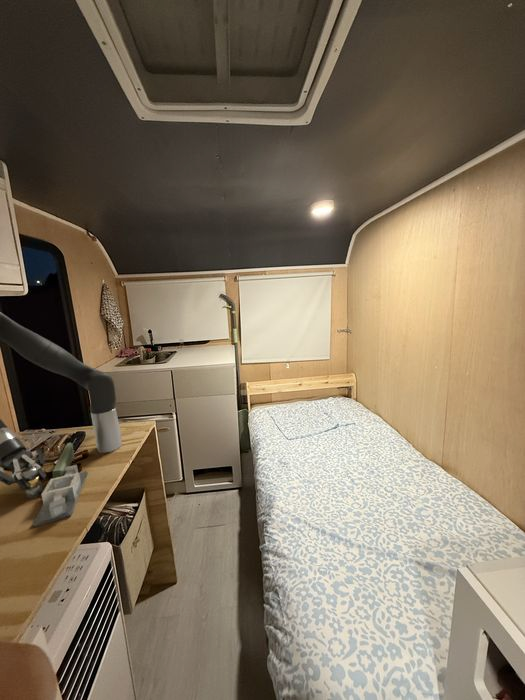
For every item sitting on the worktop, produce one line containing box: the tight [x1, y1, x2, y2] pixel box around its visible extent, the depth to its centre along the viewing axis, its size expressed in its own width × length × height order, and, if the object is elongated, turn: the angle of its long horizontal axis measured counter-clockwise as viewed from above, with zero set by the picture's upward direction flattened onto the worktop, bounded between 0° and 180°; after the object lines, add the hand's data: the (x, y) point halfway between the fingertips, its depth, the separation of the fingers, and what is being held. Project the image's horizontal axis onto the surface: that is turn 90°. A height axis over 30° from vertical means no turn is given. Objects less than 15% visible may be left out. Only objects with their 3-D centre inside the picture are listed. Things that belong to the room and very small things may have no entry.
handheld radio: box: [52, 442, 75, 479], centre depth 106 cm, size 7×3×25 cm
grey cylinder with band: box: [21, 466, 44, 499], centre depth 91 cm, size 4×4×9 cm
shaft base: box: [32, 464, 89, 528], centre depth 89 cm, size 22×9×5 cm, turn 21°
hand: (36, 484), depth 90 cm, fingers closed on grey cylinder with band, 4 cm apart
